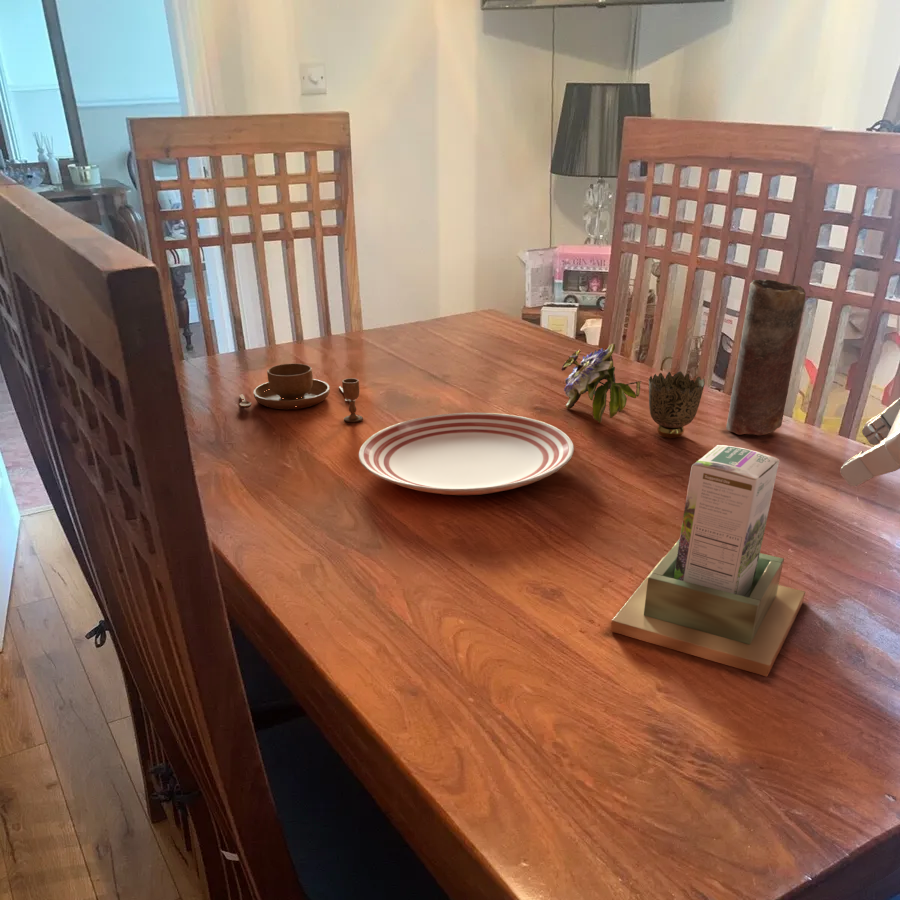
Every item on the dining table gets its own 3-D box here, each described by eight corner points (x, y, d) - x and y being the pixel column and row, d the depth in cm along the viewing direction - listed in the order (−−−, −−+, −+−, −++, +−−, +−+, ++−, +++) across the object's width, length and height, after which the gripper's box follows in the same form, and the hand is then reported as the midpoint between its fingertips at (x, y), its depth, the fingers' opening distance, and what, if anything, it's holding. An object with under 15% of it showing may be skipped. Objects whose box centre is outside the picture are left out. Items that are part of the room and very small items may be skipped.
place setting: (340, 383, 144) (337, 347, 141) (368, 421, 128) (365, 381, 125) (234, 394, 140) (229, 358, 137) (249, 435, 123) (243, 395, 120)
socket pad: (803, 601, 82) (814, 554, 80) (767, 677, 72) (778, 624, 70) (661, 566, 89) (667, 521, 86) (610, 631, 79) (615, 582, 76)
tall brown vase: (743, 418, 127) (767, 275, 117) (790, 429, 123) (819, 282, 112) (715, 431, 123) (738, 283, 112) (763, 443, 118) (791, 291, 108)
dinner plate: (321, 494, 105) (319, 468, 104) (411, 422, 127) (411, 400, 126) (537, 528, 97) (538, 501, 95) (594, 445, 118) (596, 421, 117)
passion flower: (569, 442, 134) (553, 368, 135) (638, 427, 134) (622, 353, 135) (575, 423, 123) (557, 343, 124) (650, 407, 123) (632, 326, 123)
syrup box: (692, 583, 83) (714, 441, 76) (752, 601, 80) (781, 455, 73) (667, 609, 79) (688, 461, 72) (730, 629, 76) (758, 477, 69)
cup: (708, 437, 120) (716, 380, 116) (671, 448, 117) (678, 390, 113) (668, 422, 126) (675, 368, 122) (632, 433, 122) (637, 377, 118)
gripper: (1023, 277, 65) (856, 386, 75) (1011, 342, 51) (805, 467, 60) (1071, 344, 66) (899, 443, 75) (1074, 427, 51) (859, 538, 60)
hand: (857, 454), depth 67 cm, fingers open, 8 cm apart
